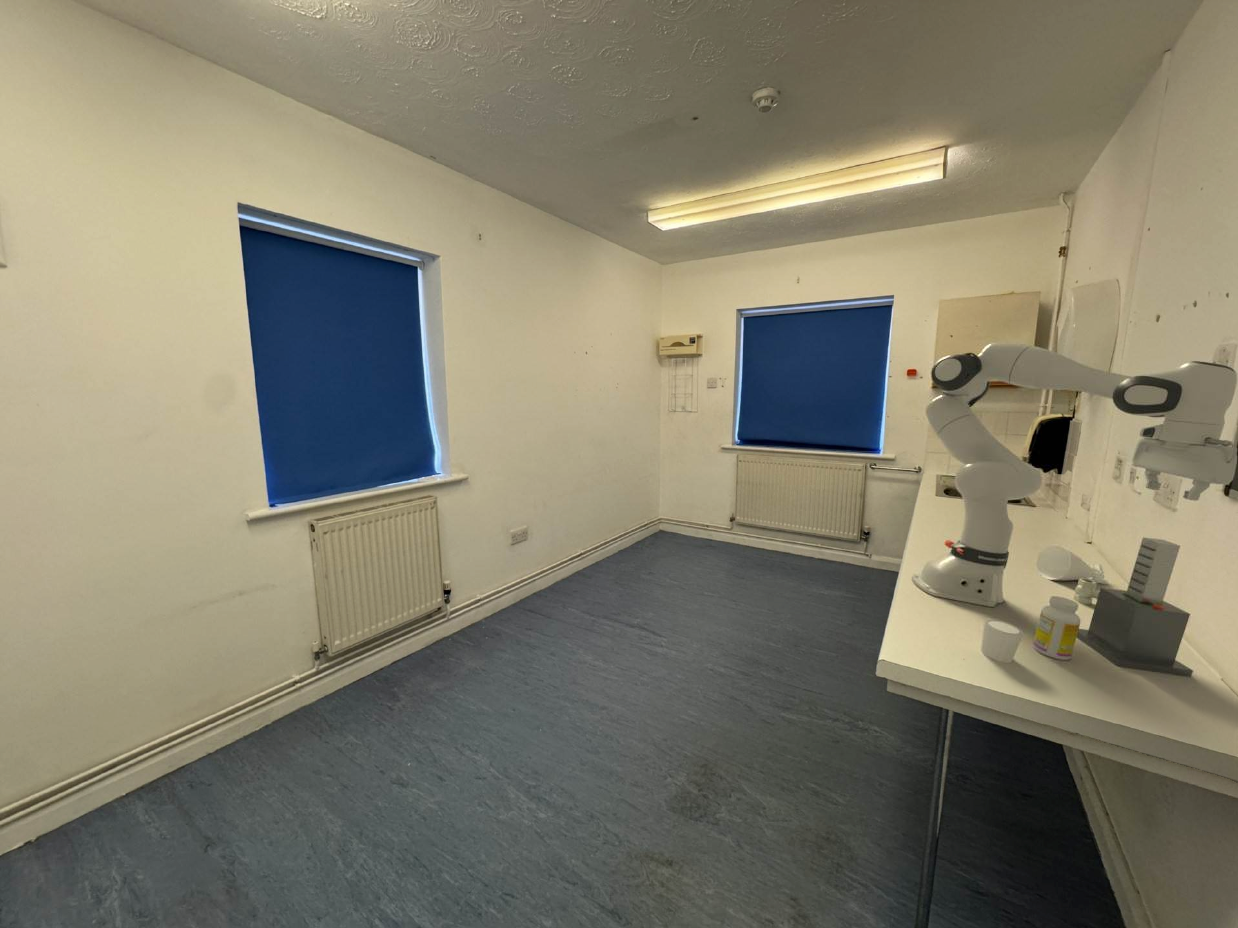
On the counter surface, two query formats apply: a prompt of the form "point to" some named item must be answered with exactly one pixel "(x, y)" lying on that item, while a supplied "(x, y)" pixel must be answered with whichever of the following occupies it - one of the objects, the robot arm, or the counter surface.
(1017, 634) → the white cup
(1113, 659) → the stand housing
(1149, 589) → the column
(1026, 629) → the counter surface
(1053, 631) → the supplement bottle
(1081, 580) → the valve
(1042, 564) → the rocket engine
